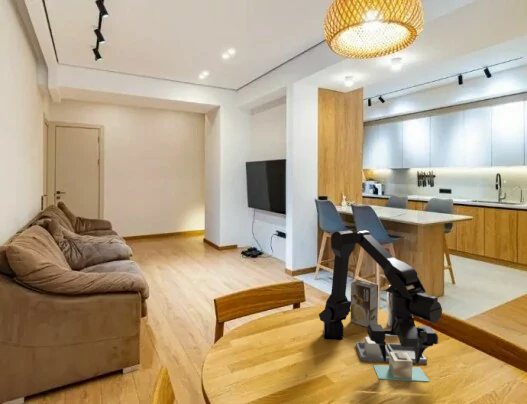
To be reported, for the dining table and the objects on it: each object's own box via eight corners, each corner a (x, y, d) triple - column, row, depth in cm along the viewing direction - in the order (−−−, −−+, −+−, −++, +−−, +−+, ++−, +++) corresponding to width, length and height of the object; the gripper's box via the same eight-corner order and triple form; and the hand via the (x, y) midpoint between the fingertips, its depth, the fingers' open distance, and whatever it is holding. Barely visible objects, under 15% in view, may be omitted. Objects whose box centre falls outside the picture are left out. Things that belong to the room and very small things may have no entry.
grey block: (367, 356, 110) (368, 343, 110) (364, 349, 114) (365, 336, 114) (382, 357, 109) (382, 344, 109) (378, 350, 114) (378, 337, 114)
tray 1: (361, 361, 108) (361, 356, 107) (355, 346, 117) (355, 341, 117) (392, 363, 107) (392, 357, 107) (384, 348, 116) (384, 343, 116)
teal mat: (379, 380, 98) (379, 378, 98) (373, 367, 105) (373, 365, 105) (429, 383, 97) (429, 381, 97) (420, 369, 104) (420, 367, 103)
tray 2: (395, 363, 107) (395, 357, 107) (386, 348, 116) (386, 343, 116) (426, 364, 106) (427, 359, 106) (415, 349, 116) (415, 344, 115)
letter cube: (394, 377, 98) (394, 360, 98) (389, 367, 103) (389, 351, 103) (412, 378, 98) (412, 360, 98) (406, 368, 103) (406, 352, 102)
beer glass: (406, 329, 131) (407, 291, 130) (387, 327, 132) (388, 290, 131) (402, 322, 137) (403, 285, 136) (384, 320, 139) (385, 284, 138)
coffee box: (378, 324, 135) (379, 284, 134) (369, 328, 131) (371, 288, 130) (358, 317, 142) (358, 279, 141) (349, 321, 138) (350, 282, 137)
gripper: (376, 320, 92) (374, 376, 93) (448, 323, 90) (445, 379, 92) (367, 305, 103) (365, 354, 104) (431, 307, 102) (429, 357, 103)
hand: (400, 361), depth 100 cm, fingers open, 9 cm apart
